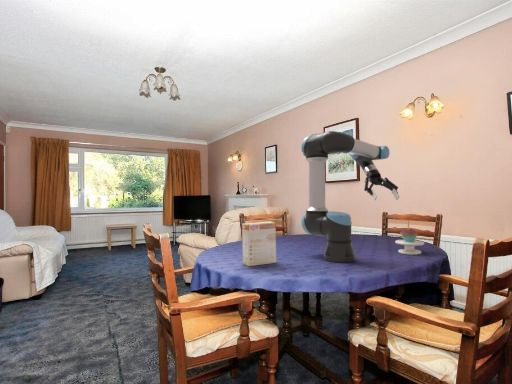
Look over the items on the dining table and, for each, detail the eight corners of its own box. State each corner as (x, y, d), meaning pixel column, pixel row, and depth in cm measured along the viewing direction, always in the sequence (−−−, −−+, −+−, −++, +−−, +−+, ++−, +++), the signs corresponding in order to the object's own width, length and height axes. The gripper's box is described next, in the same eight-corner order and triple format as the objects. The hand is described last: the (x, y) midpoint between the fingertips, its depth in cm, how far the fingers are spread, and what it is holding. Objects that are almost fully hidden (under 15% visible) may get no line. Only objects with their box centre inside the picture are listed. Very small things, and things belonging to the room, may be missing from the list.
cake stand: (396, 254, 160) (396, 243, 160) (394, 249, 173) (394, 239, 173) (426, 256, 154) (426, 244, 154) (422, 251, 167) (422, 240, 168)
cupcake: (417, 243, 158) (416, 220, 158) (399, 242, 162) (399, 219, 162) (418, 241, 165) (418, 219, 165) (401, 239, 170) (400, 218, 170)
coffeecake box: (269, 260, 150) (269, 221, 151) (276, 263, 144) (276, 222, 144) (242, 263, 144) (241, 222, 144) (248, 266, 138) (247, 224, 138)
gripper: (388, 178, 189) (404, 202, 174) (351, 178, 185) (363, 203, 170) (393, 169, 184) (410, 193, 169) (355, 168, 180) (368, 193, 165)
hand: (386, 198), depth 169 cm, fingers open, 13 cm apart
